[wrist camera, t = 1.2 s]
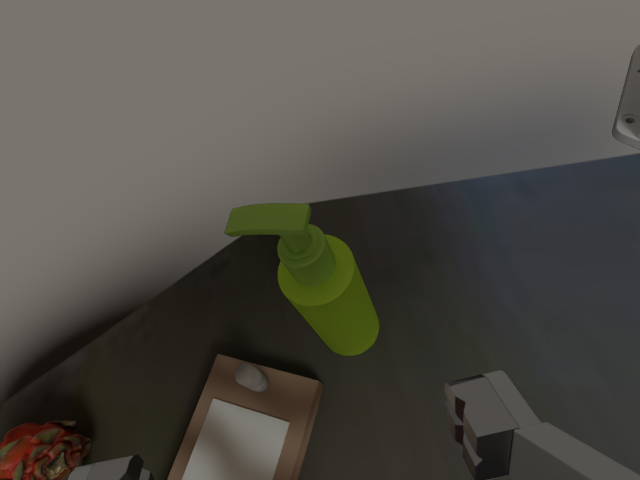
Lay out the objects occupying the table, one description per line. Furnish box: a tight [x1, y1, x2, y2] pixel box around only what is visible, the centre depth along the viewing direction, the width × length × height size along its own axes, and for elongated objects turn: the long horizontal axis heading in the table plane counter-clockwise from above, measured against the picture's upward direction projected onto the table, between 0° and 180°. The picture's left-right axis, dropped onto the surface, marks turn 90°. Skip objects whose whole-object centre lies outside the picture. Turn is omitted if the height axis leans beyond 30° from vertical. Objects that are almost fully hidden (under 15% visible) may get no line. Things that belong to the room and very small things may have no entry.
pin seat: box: [167, 354, 324, 480], centre depth 34 cm, size 16×11×6 cm
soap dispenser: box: [225, 203, 379, 356], centre depth 32 cm, size 6×7×20 cm
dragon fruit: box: [0, 420, 91, 480], centre depth 37 cm, size 8×8×12 cm
